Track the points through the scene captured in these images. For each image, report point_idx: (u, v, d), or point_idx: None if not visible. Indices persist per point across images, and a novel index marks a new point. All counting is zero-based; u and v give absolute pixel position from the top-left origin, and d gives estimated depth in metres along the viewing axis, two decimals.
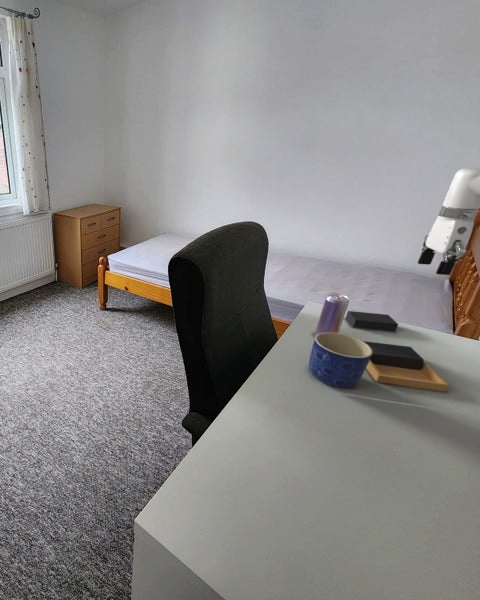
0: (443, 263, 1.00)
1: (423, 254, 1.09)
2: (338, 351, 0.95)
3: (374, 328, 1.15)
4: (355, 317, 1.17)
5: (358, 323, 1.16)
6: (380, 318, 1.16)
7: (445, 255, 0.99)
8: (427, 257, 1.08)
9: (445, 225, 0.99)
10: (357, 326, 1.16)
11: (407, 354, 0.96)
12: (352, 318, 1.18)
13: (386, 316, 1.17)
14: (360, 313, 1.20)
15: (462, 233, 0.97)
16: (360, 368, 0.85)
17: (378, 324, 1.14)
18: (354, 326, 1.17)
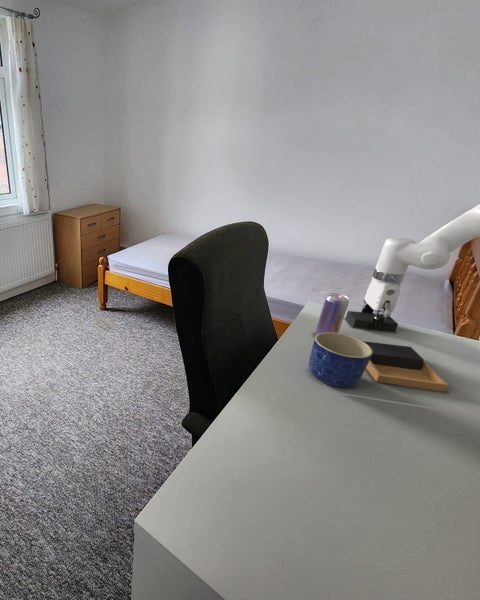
0: (374, 320, 1.13)
1: (363, 310, 1.20)
2: (338, 351, 0.95)
3: None
4: (355, 317, 1.17)
5: (358, 323, 1.16)
6: None
7: (376, 313, 1.12)
8: None
9: (377, 286, 1.11)
10: (357, 326, 1.16)
11: (407, 354, 0.96)
12: (352, 318, 1.18)
13: None
14: (360, 313, 1.20)
15: (391, 295, 1.09)
16: (360, 368, 0.85)
17: None
18: (354, 326, 1.17)
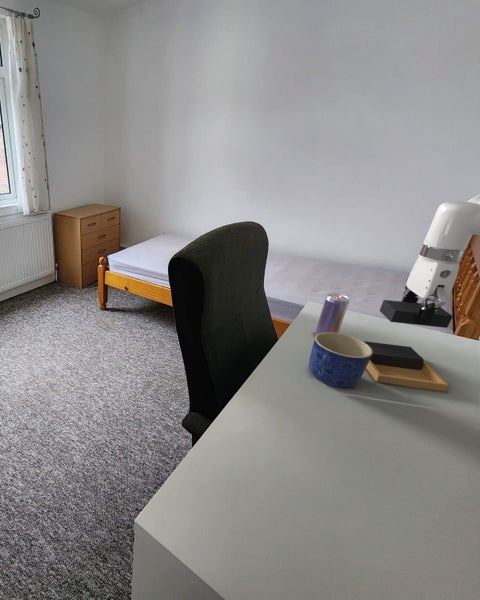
0: (421, 311, 0.87)
1: (405, 299, 0.94)
2: (338, 351, 0.95)
3: None
4: (395, 308, 0.91)
5: (399, 315, 0.90)
6: None
7: (424, 302, 0.86)
8: None
9: (426, 267, 0.85)
10: (397, 319, 0.90)
11: (407, 354, 0.96)
12: (390, 309, 0.92)
13: None
14: (400, 303, 0.94)
15: (446, 277, 0.83)
16: (360, 368, 0.85)
17: None
18: (393, 319, 0.91)
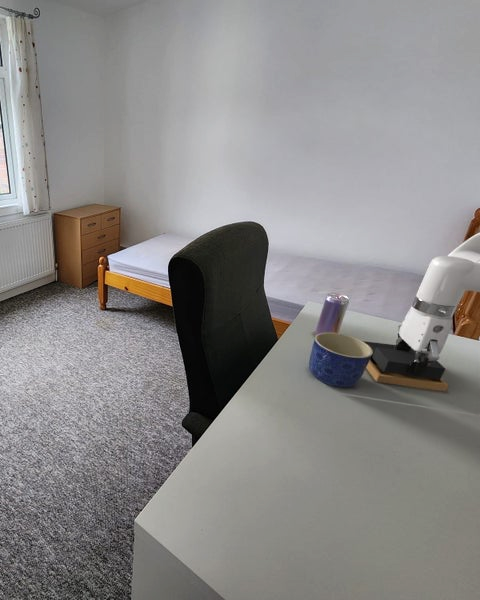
0: (414, 363, 0.87)
1: (397, 347, 0.93)
2: (338, 351, 0.95)
3: None
4: (388, 358, 0.90)
5: (392, 365, 0.89)
6: None
7: (417, 354, 0.85)
8: None
9: (419, 319, 0.84)
10: (390, 369, 0.90)
11: None
12: (383, 358, 0.91)
13: None
14: (393, 351, 0.93)
15: (438, 332, 0.82)
16: (360, 368, 0.85)
17: None
18: (386, 369, 0.90)
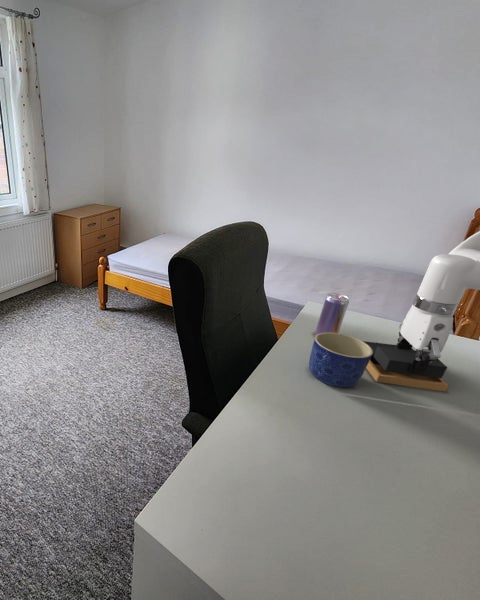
0: (415, 361, 0.86)
1: (399, 346, 0.93)
2: (338, 351, 0.95)
3: None
4: (389, 357, 0.90)
5: (393, 364, 0.89)
6: None
7: (418, 353, 0.85)
8: None
9: (420, 318, 0.84)
10: (391, 368, 0.89)
11: None
12: (384, 357, 0.91)
13: None
14: (394, 350, 0.93)
15: (440, 330, 0.82)
16: (360, 368, 0.85)
17: None
18: (387, 368, 0.90)
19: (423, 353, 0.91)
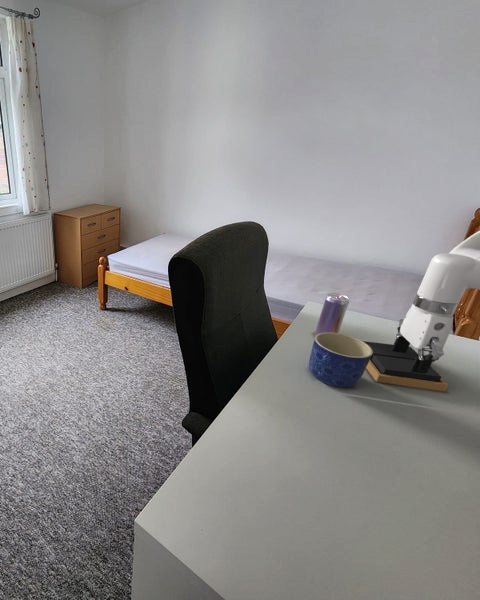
0: (418, 361, 0.85)
1: (397, 341, 0.94)
2: (338, 351, 0.95)
3: None
4: (384, 366, 0.91)
5: (389, 373, 0.90)
6: None
7: (420, 352, 0.84)
8: (402, 345, 0.94)
9: (420, 317, 0.84)
10: None
11: (407, 354, 0.96)
12: (380, 366, 0.92)
13: None
14: (390, 359, 0.94)
15: (440, 329, 0.82)
16: (360, 368, 0.85)
17: (414, 375, 0.88)
18: None
19: None
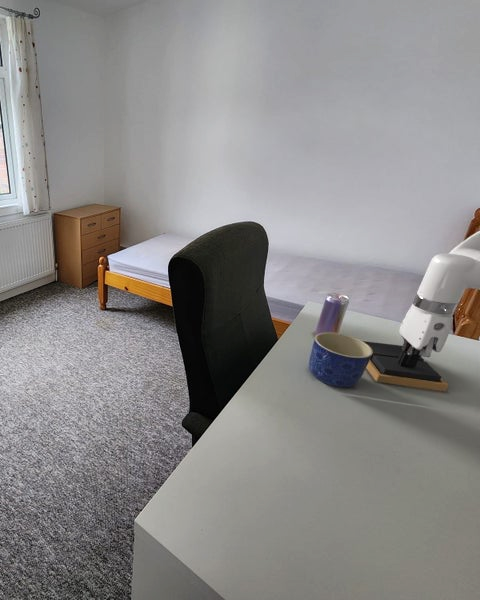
0: (407, 355, 0.89)
1: (403, 354, 0.90)
2: (338, 351, 0.95)
3: None
4: (384, 366, 0.91)
5: (389, 373, 0.90)
6: (417, 366, 0.90)
7: (411, 349, 0.88)
8: None
9: (420, 317, 0.84)
10: None
11: None
12: (380, 366, 0.92)
13: (424, 364, 0.91)
14: (390, 359, 0.94)
15: (439, 329, 0.82)
16: (360, 368, 0.85)
17: (414, 375, 0.88)
18: None
19: (418, 362, 0.92)
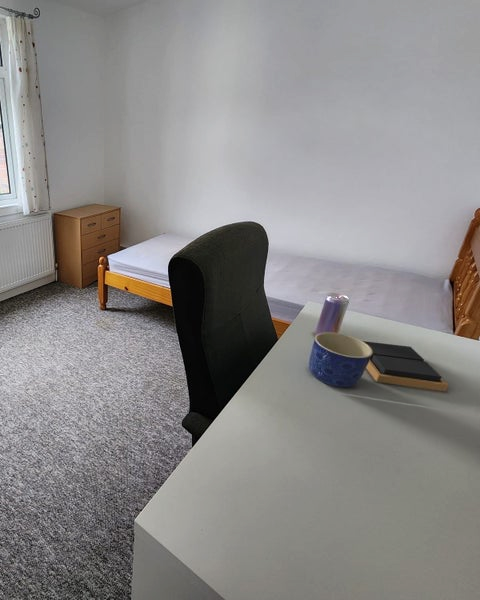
0: None
1: None
2: (338, 351, 0.95)
3: None
4: (384, 366, 0.91)
5: (389, 373, 0.90)
6: (417, 366, 0.90)
7: None
8: None
9: None
10: None
11: (407, 354, 0.96)
12: (380, 366, 0.92)
13: (424, 364, 0.91)
14: (390, 359, 0.94)
15: None
16: (360, 368, 0.85)
17: (414, 375, 0.88)
18: None
19: (418, 362, 0.92)
